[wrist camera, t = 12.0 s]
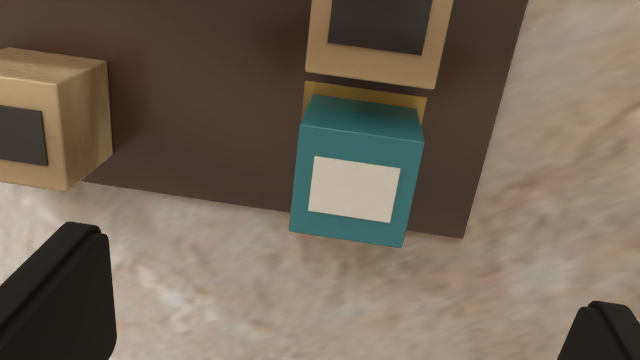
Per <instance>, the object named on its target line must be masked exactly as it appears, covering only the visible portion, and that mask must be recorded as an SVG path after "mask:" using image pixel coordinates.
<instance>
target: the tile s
mask: <svg viewBox="0 0 640 360" xmlns="http://www.w3.org/2000/svg"><path fill="white" fill-rule="evenodd" d="M424 144H425V143H424V138H423V133H422V129H421V124H420V120H419V115H418V110H417V109H416V108H409V107H402V106H395V105H388V104H381V103H374V102H367V101H360V100H353V99H345V98H338V97H331V96H324V95H317V94H313V95H312V97H311V99H310V102H309V104H308V107H307V109H306V111H305V114H304V116H303V119H302V121H301V123H300V127H299V136H298V146H297V156H296V166H295V175H294V185H293V195H292V204H291V214H290V224H289V231H291V232H298V233H304V234H311V235H318V236H324V237H331V238H337V239H344V240H350V241H357V242H363V243H370V244H377V245H383V246H390V247H396V248H402V246H403V242H404V237H405V232H406V228H407V223H408V218H409V214H410V209H411V204H412V200H413V195H414V191H415V186H416V181H417V177H418V172H419V167H420V163H421V158H422V153H423V149H424Z"/></svg>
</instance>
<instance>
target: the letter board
mask: <svg viewBox="0 0 640 360" xmlns="http://www.w3.org/2000/svg"><path fill="white" fill-rule="evenodd" d="M527 2H528V0H454V1H453V6H452V10H451V15H450V20H449V24H448V29H447V34H446V38H445V43H444V48H443V52H442V57H441V62H440V66H439V71H438V76H437V80H436V85H435V88H434V89H432V90H431V89H424V88H416V87H409V86H402V85H395V84H388V83H381V82H373V81H366V80H359V79H352V78H345V77H337V76H330V75H323V74H316V73H309V72H306V71H305V62H306V53H307V43H308V33H309V23H310V14H311V4H312V0H0V50H1V49H5V48H8V47H12V48H19V49H26V50H33V51H40V52H47V53H54V54H61V55H69V56H76V57H83V58H90V59H97V60H104V61H106V62H107V70H108V86H109V103H110V119H111V135H112V151H113V154H112V156H110V157H109V158H108V159H107V160H106V161H104V162H103V163H102V164H101V165H100V166H98V167H97V168H96V169H95V170H93V171H92V172H91V173H90V174H89V175H87V176H86V177H85V178H84V179H83V180H81V181H84V182H90V183H97V184H103V185H110V186H117V187H123V188H130V189H136V190H143V191H150V192H156V193H163V194H170V195H176V196H183V197H189V198H196V199H203V200H209V201H216V202H223V203H229V204H236V205H242V206H249V207H256V208H262V209H269V210H275V211H282V212H289V213H291V204H292V195H293V185H294V175H295V166H296V156H297V146H298V136H299V127H300V123H301V121H302V119H303V116H304V114H305V111H306V109H307V107H308V104H309V102H310V99H311V97H312V95H313V94H317V95H324V96H331V97H338V98H345V99H353V100H360V101H367V102H374V103H381V104H388V105H395V106H402V107H409V108H416V109H417V110H418V115H419V120H420V124H421V129H422V133H423V138H424V143H425V144H424V149H423V153H422V158H421V163H420V167H419V172H418V177H417V181H416V186H415V191H414V195H413V200H412V204H411V209H410V214H409V218H408V223H407V228H406V230H408V231H414V232H421V233H428V234H434V235H441V236H448V237H454V238H461V239H463V237H464V233H465V230H466V226H467V222H468V219H469V215H470V211H471V208H472V204H473V200H474V197H475V193H476V189H477V186H478V182H479V178H480V175H481V171H482V167H483V164H484V160H485V156H486V153H487V149H488V145H489V142H490V138H491V134H492V131H493V127H494V123H495V120H496V116H497V112H498V109H499V105H500V101H501V98H502V94H503V90H504V87H505V83H506V79H507V76H508V72H509V68H510V65H511V61H512V57H513V54H514V50H515V46H516V43H517V39H518V35H519V32H520V28H521V24H522V21H523V17H524V13H525V10H526V6H527Z"/></svg>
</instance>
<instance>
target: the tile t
mask: <svg viewBox="0 0 640 360" xmlns="http://www.w3.org/2000/svg"><path fill="white" fill-rule="evenodd" d="M453 1H454V0H312V4H311V14H310V23H309V33H308V43H307V53H306V62H305V71H306V72H309V73H316V74H323V75H330V76H337V77H345V78H352V79H359V80H366V81H373V82H381V83H388V84H395V85H402V86H409V87H416V88H424V89H431V90H432V89H434V88H435V85H436V80H437V76H438V71H439V66H440V62H441V57H442V52H443V48H444V43H445V38H446V34H447V29H448V24H449V20H450V15H451V10H452V6H453Z"/></svg>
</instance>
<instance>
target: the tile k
mask: <svg viewBox="0 0 640 360" xmlns="http://www.w3.org/2000/svg"><path fill="white" fill-rule="evenodd" d="M112 154H113V151H112V135H111V119H110V103H109V86H108V70H107V62H106V61H104V60H97V59H90V58H83V57H76V56H69V55H61V54H54V53H47V52H40V51H33V50H26V49H19V48H12V47H8V48H5V49H1V50H0V182H5V183H12V184H18V185H25V186H31V187H38V188H44V189H51V190H58V191H64V192H67V191H69V190H70V189H72V188H73V187H74V186H75V185H76V184H78V183H79V182H80V181H81V180H83V179H84V178H85V177H86V176H87V175H89V174H90V173H91V172H92V171H93V170H95V169H96V168H97V167H98V166H100V165H101V164H102V163H103V162H104V161H106V160H107V159H108V158H109V157H110V156H112Z"/></svg>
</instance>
